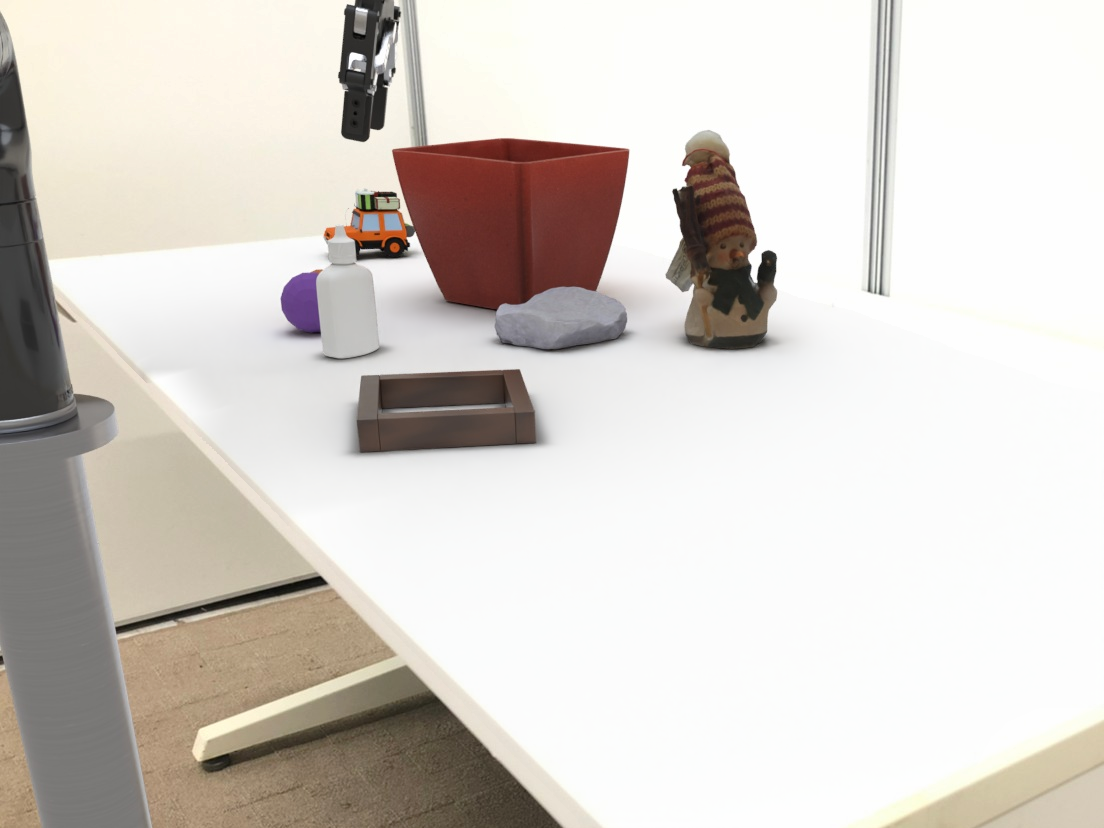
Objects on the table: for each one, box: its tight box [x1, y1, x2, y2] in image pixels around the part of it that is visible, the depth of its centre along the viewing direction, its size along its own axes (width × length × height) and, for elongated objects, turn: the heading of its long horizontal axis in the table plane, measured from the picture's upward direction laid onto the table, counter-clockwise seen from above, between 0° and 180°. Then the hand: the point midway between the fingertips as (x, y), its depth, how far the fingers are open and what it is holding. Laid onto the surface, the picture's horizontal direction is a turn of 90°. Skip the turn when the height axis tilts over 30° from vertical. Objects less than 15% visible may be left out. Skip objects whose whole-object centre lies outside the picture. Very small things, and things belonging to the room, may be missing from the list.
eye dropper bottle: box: [316, 224, 380, 360], centre depth 119 cm, size 4×6×12 cm
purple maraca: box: [279, 268, 324, 333], centre depth 135 cm, size 6×6×20 cm
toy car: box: [322, 188, 416, 259], centre depth 170 cm, size 7×12×9 cm, turn 121°
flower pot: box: [391, 137, 630, 311], centre depth 143 cm, size 19×19×17 cm
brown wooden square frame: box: [356, 368, 537, 453], centre depth 101 cm, size 13×13×2 cm
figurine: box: [665, 129, 778, 350], centre depth 127 cm, size 13×12×20 cm
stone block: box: [494, 287, 628, 350], centre depth 129 cm, size 12×5×10 cm
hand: (362, 134), depth 109 cm, fingers open, 8 cm apart
